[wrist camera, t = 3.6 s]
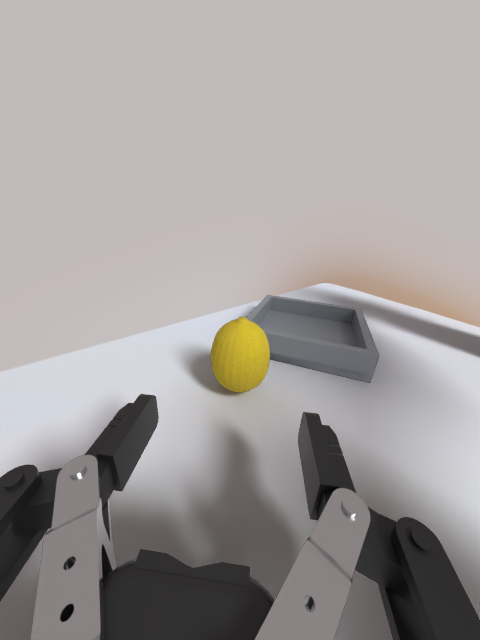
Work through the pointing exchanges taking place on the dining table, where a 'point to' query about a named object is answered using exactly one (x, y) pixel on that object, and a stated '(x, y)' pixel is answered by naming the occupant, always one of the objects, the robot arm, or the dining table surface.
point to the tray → (317, 336)
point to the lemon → (240, 355)
